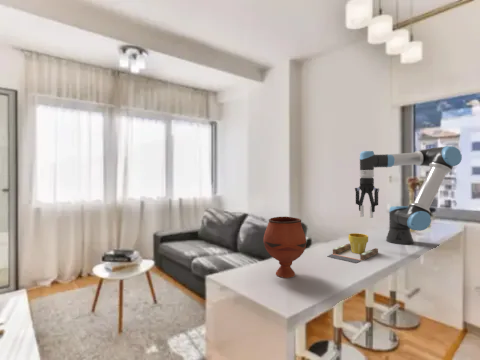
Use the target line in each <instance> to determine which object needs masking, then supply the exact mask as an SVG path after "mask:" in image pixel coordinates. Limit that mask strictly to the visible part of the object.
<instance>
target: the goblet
mask: <svg viewBox="0 0 480 360" xmlns="http://www.w3.org/2000/svg"><path fill="white" fill-rule="evenodd" d="M262 239H263V246H264V248H265V250H266V252H267V253H268V254H269V255H270V256H271V257H272V258H273V259H274V260H276V261H278V264H279V265H280V266H279V267H278V268H277V270H276V272H275V275H276V277H279V278H282V279H283V278H284V279H288V278H289V279H290V278H293V277H295V276H296V273H295V271H294V269H293V268H292V265H293V262H294V261H296V260H297V259H299V258H300V257H301V256H302V255H303V254H304V253H305V250H306V248H307V237H306V234H305V232H304V229H303V225H302V219H301V218H297V217H291V216H276V217H270V218H269V219H268V223H267V226H266V229H265V230H264V234H263V238H262Z"/></svg>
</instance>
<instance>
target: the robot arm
mask: <svg viewBox="0 0 480 360" xmlns="http://www.w3.org/2000/svg"><path fill="white" fill-rule="evenodd" d="M462 155H463V154H462V153H461V151H460V149H459V148H458V147H456V146H453V145H446V146H439V147H432V148H426V149H422V150H421V149H420V150H415V151H414V152H405V153H391V154H386V153H385V154H375V153H374V151H373V150H363V151H360V153H359V177H360V178H359V187H355V188H354V191H355V205H357V206H358V211H359V213H360V218H363V217H364V212H365V211H364V210H365V209H364V208H365V206H364V200H365V195H366V194H367V195H368V198H369V203H370V206H369V219H372V218H374V213H375V212H376V211H375V210H376V206H379V191H380V188H379V187H378V188H376V187H375V178H374V176H375V170H374V169H375V168H392V167H397V166H399V167H400V166H409V165H410V166H412V165H413V166H414V165H415V166H417V167H421V166H427V167H429V168H430V169H429V170H428V172H427V175H426V177H425V178H424V180H423V182H422V185H421V186H420V188H419V191H418V192H417V195H416V197H415V199H414V201H413V202H412V203H410V204H408V205H397V206H396V205H395V206H392V205H391V206H390V207H389V212H388V213H389V225H388V226H389V229H388V232H387V235H386V242H389V243H391V244H397V245H411V244H414V238H413V236H412V233H411V230H413V231H417V232H418V231H419V232H421V231H424V230H426V229H427V228H429V227H430V225H431V223H432V219H431V218H432V217H431V209H430V207H431V206H432V203H433V201H434V199H435V198H436V196H437V193H438V192H439V189H440V187H441V185H442V183H443V181H444V179H445V177H446V175H447V173H451V171H452V169H453V168H454V167H455V166H458V165H459V164H460V163H461V162H462V161H463V160H462V159H463V156H462ZM360 192H361V193H360ZM373 192H374V193H373ZM373 194H374V196H373Z"/></svg>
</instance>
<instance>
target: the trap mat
mask: <svg viewBox="0 0 480 360" xmlns="http://www.w3.org/2000/svg"><path fill="white" fill-rule="evenodd" d="M326 258H331V259H336V260H339V261H345V262H348V263H349V262H350V263H353V264H357V263H359V262H361V261H362V260H360V258H354V257H349V256H346V255H340V254H333V253H331V254H329V255H327V257H326Z"/></svg>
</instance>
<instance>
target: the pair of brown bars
mask: <svg viewBox="0 0 480 360" xmlns="http://www.w3.org/2000/svg"><path fill="white" fill-rule="evenodd" d="M350 249H351V245H350V243H347V244H343V245H340V246H337V247H334V248H332V254H336V255H339V254H340V253H342V252H345V251H347V250H350ZM378 253H379V248H377V247H375V248H373V249H370V250H367V251H365V252H364V253H362V254H359V257H360V258H359V259H360V260H361V261H365V260H368V259H369V258H371V257H373V256H375V255H378Z"/></svg>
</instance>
